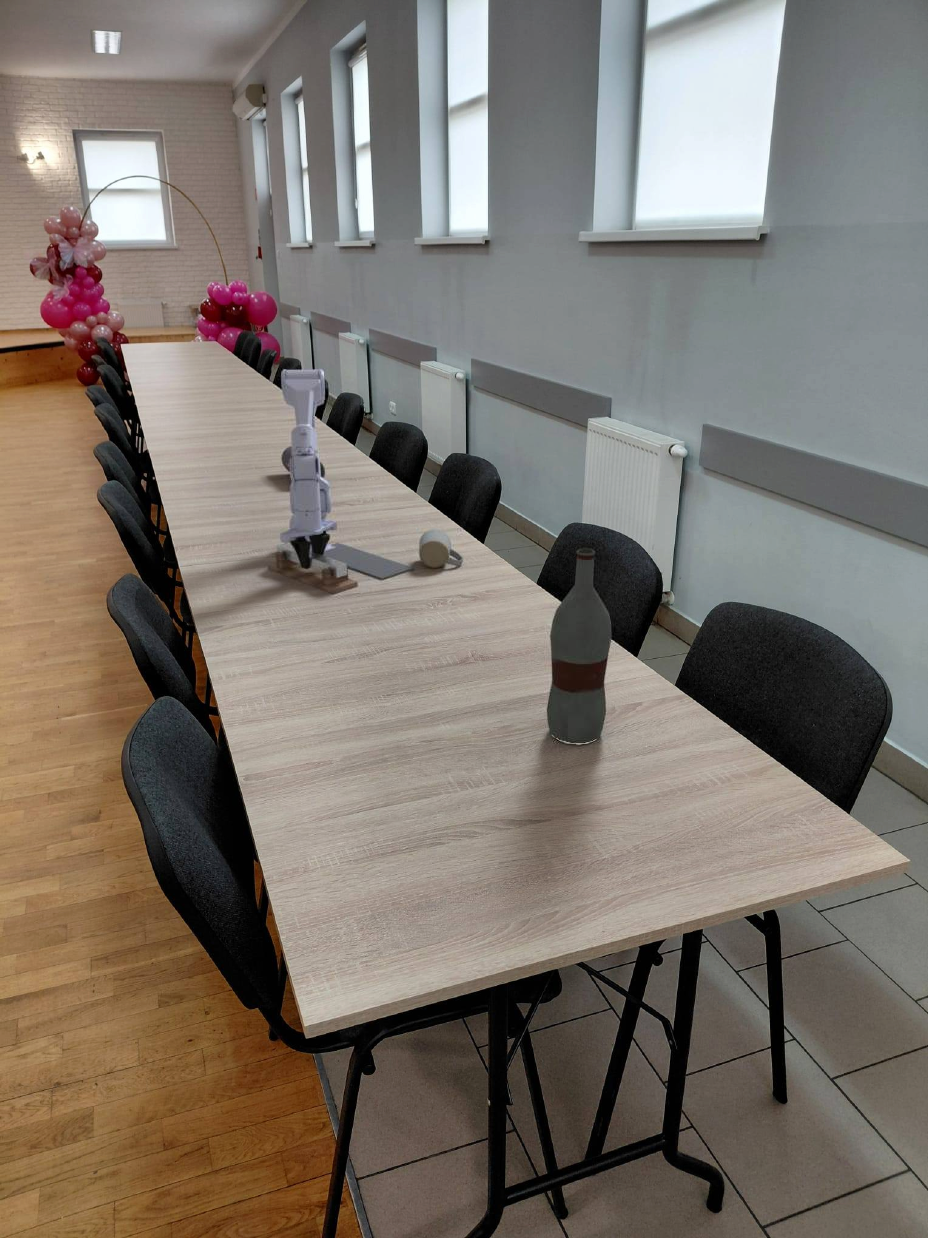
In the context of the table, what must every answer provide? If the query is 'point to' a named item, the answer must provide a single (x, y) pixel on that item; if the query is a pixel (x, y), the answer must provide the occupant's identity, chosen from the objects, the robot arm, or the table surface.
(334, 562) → the steel rail
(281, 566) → the walnut standards
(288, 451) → the bluetooth speaker
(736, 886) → the table surface
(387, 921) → the table surface
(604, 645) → the bottle
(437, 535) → the ceramic mug
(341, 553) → the rubber mat
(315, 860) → the table surface
